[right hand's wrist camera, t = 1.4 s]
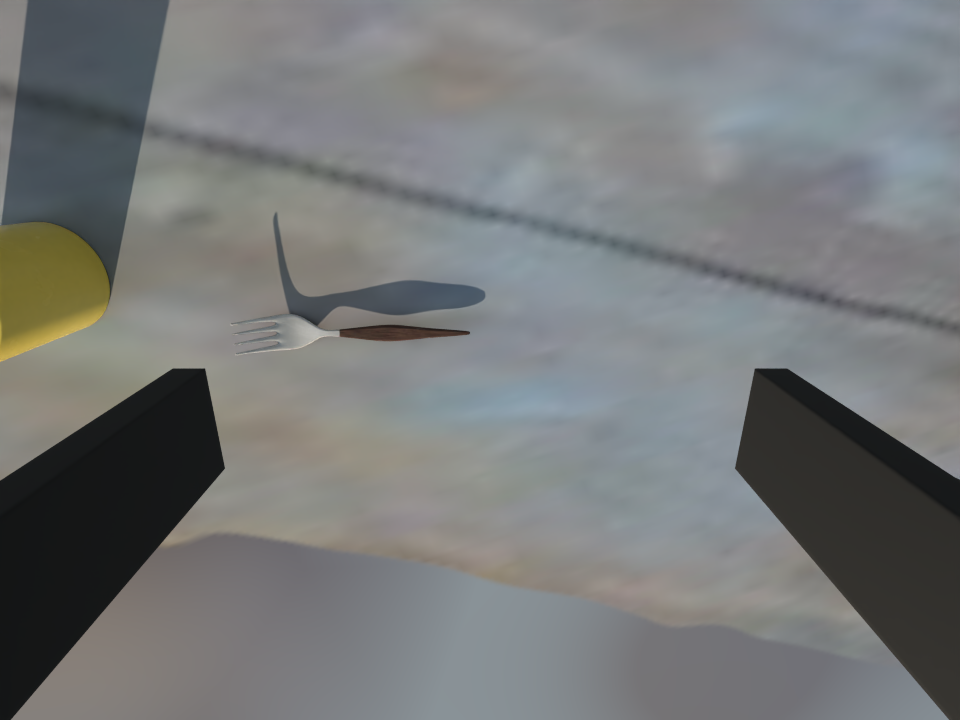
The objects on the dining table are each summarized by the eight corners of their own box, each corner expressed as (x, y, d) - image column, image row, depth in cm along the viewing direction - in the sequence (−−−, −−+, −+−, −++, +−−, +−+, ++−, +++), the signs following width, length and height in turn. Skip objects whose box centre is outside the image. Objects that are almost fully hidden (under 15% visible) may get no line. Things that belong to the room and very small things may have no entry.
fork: (469, 348, 37) (469, 357, 35) (248, 348, 37) (235, 358, 35) (469, 313, 36) (469, 321, 34) (242, 313, 36) (229, 321, 34)
